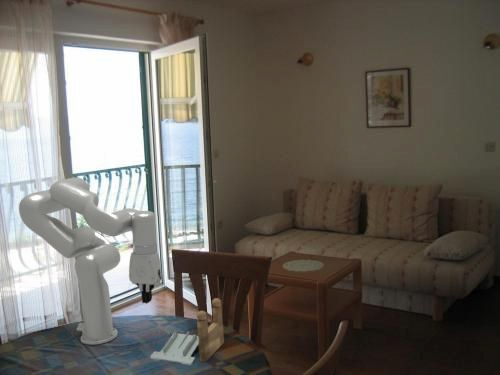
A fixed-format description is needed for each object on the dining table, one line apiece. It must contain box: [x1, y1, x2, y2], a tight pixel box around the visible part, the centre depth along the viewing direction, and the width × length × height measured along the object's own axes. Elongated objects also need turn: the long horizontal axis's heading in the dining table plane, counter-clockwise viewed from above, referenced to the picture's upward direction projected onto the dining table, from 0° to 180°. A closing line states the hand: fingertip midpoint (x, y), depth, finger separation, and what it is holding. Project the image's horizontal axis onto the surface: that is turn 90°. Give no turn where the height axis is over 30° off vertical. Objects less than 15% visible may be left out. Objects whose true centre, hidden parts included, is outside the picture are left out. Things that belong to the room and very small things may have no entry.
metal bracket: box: [150, 331, 199, 366], centre depth 163 cm, size 14×6×15 cm
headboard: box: [196, 297, 225, 363], centre depth 162 cm, size 3×14×16 cm, turn 159°
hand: (146, 301), depth 169 cm, fingers closed
